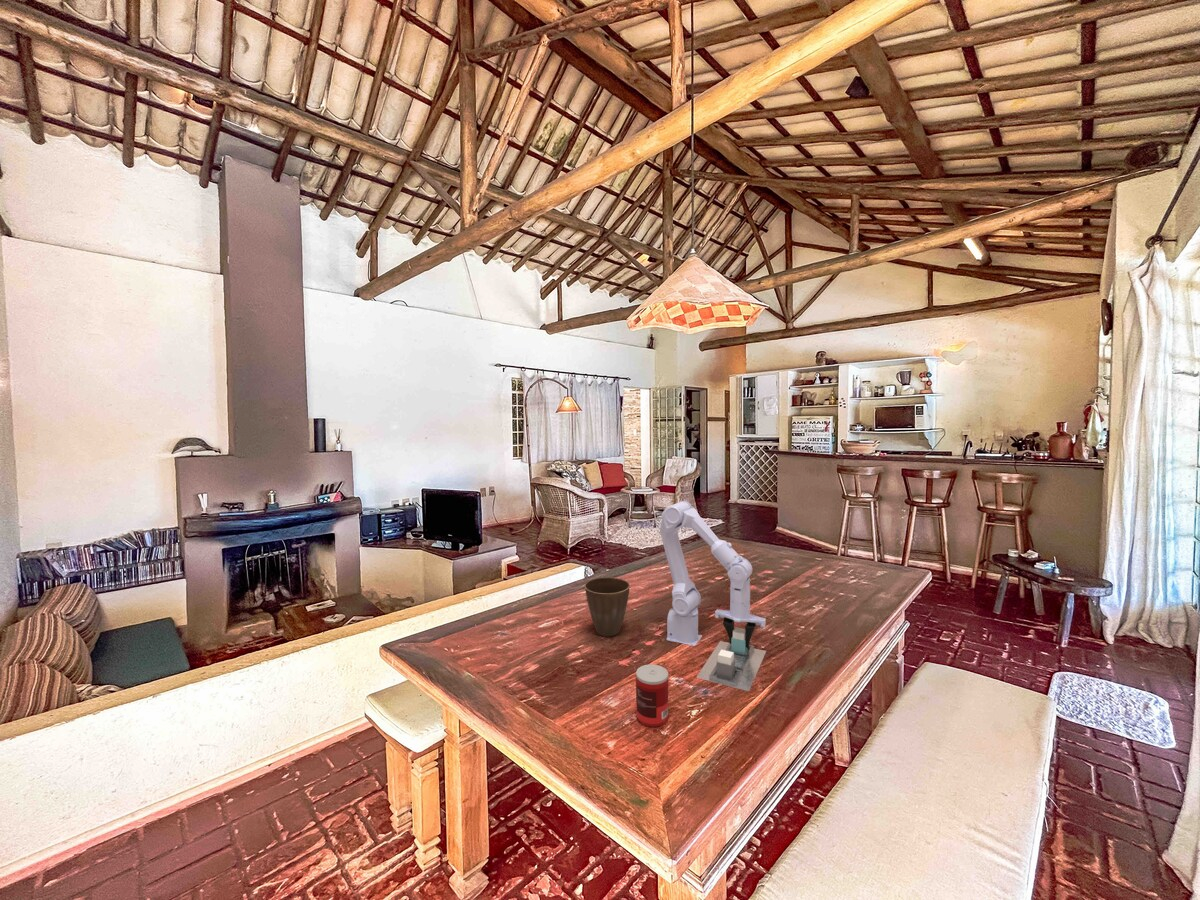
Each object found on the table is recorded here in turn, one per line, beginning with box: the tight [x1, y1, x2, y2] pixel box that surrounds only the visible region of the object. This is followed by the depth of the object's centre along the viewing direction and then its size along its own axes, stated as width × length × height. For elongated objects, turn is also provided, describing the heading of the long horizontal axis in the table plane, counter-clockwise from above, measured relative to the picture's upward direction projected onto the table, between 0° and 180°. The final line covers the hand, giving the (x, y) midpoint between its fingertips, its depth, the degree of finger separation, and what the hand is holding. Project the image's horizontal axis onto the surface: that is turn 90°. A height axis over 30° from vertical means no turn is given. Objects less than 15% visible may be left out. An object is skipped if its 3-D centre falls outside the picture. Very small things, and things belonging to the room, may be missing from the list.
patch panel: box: [696, 640, 767, 692], centre depth 137 cm, size 14×24×2 cm, turn 151°
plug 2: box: [731, 626, 748, 654], centre depth 144 cm, size 4×4×6 cm
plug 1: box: [717, 650, 735, 680], centre depth 130 cm, size 4×4×6 cm
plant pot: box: [584, 577, 631, 637], centre depth 159 cm, size 15×15×16 cm
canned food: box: [635, 664, 669, 728], centre depth 113 cm, size 8×8×11 cm
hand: (739, 644), depth 144 cm, fingers closed on plug 2, 4 cm apart
